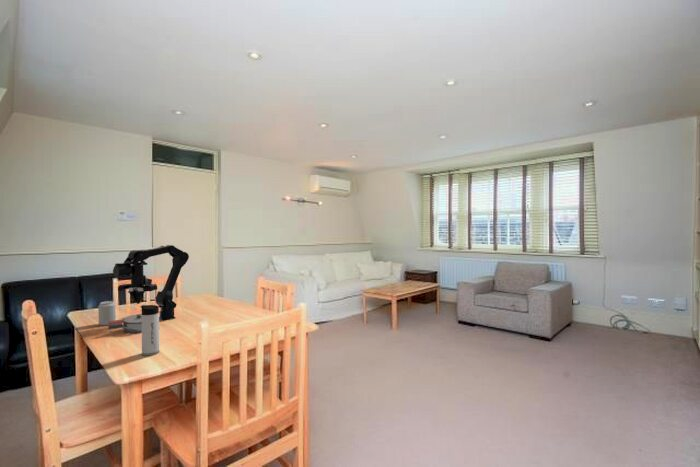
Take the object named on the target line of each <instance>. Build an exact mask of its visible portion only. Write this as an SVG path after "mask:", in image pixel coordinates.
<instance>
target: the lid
mask: <svg viewBox="0 0 700 467" xmlns="http://www.w3.org/2000/svg"><path fill="white" fill-rule="evenodd" d="M141 314H142V313H138V314H137V313H136V314H131V315H128V316H125V317H122V319H121V318H120V319H118V320H117V319H116V320H115V321H109V322H108V325H107V326H110V325H115V324H121V323H122V324H123V323H141V322H142V319H141V316H142V315H141Z"/></svg>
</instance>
